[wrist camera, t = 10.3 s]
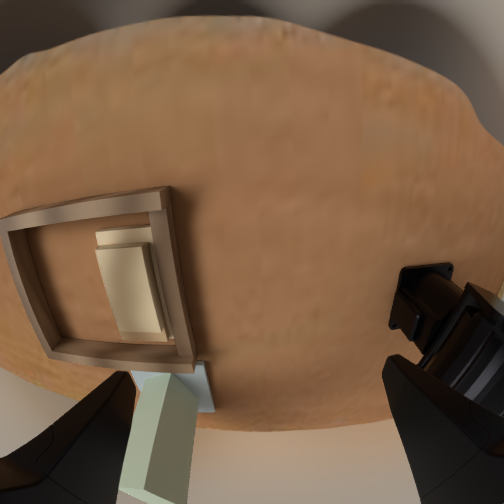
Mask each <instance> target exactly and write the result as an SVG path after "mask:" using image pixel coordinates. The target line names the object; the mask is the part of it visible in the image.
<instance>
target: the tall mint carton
mask: <svg viewBox="0 0 504 504" xmlns="http://www.w3.org/2000/svg"><path fill="white" fill-rule="evenodd" d="M198 406H199V399H198V398H197V397H196V396H195V395H194V394H193V393H192V392H191V391H190V390H189V389H188V388H187V387H186V386H185V385H184V384H183V383H182V382H181V381H180V380H179V379H178V378H177V377H176V376H175V375H174V374H173V373H165V374H161V375H158V376H155V377H151V378H147V379H146V380H145V383H144V386H143V388H142V391H141V394H140V397H139V400H138V403H137V406H136V409H135V413H134V416H133V420H132V427H131V432H130V436H129V440H128V445H127V449H126V454H125V458H124V463H123V468H122V473H121V478H120V483H119V488H118V489H119V490H121V491H123V492H125V493H127V494H129V495H131V496H133V497H135V498H137V499H139V500H142V501H144V502H146V503H148V504H187V497H188V487H189V478H190V469H191V460H192V452H193V444H194V436H195V428H196V421H197V413H198Z"/></svg>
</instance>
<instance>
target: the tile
mask: <svg viewBox="0 0 504 504" xmlns="http://www.w3.org/2000/svg"><path fill="white" fill-rule="evenodd" d="M130 371H131V373H132V375H133V377H134V379H135V382H136V384H137V386H138V388H139V390H140V392H141V391H142V388H143V386H144V383H145V380H146V379H147V378H151V377H155V376H158V375H161V374H165V373H158V372H144V371H132V370H130ZM173 374H174V375H175V376H176V377H177V378H178V379H179V380H180V381H181V382H182V383H183V384H184V385H185V386H186V387H187V388H188V389H189V390H190V391H191V392H192V393H193V394H194V395H195V396H196V397H197V398H198V399H199V406H198V412H215V405H214V401H213V397H212V393H211V389H210V385H209V380H208V376H207V372H206V367H205V363H204V361H196V367H195V372H194V374H180V373H173Z"/></svg>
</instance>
